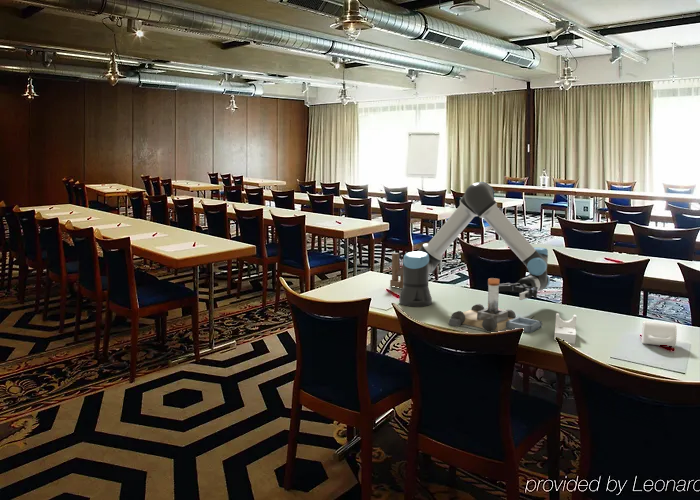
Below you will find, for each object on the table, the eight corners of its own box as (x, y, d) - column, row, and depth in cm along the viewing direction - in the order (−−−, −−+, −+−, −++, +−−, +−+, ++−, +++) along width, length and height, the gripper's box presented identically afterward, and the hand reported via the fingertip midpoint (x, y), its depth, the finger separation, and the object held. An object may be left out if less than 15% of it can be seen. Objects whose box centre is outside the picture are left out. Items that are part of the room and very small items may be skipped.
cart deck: (450, 322, 222) (450, 309, 221) (473, 314, 234) (473, 301, 234) (494, 332, 208) (495, 319, 207) (516, 323, 221) (517, 309, 220)
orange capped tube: (484, 318, 218) (486, 279, 216) (490, 316, 221) (491, 277, 219) (494, 321, 215) (496, 280, 213) (500, 318, 218) (501, 279, 216)
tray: (506, 327, 214) (506, 321, 214) (517, 322, 222) (518, 316, 221) (530, 333, 208) (530, 326, 207) (541, 327, 215) (541, 321, 214)
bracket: (555, 332, 210) (556, 313, 209) (575, 334, 207) (576, 314, 206) (554, 342, 198) (555, 322, 197) (575, 344, 195) (576, 324, 194)
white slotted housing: (641, 339, 199) (642, 318, 198) (672, 343, 195) (674, 321, 194) (643, 349, 189) (645, 327, 187) (677, 353, 185) (679, 331, 183)
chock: (448, 324, 219) (448, 318, 219) (452, 323, 221) (452, 317, 220) (457, 326, 216) (457, 320, 216) (460, 325, 218) (460, 319, 218)
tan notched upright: (404, 290, 280) (405, 255, 277) (389, 286, 288) (390, 253, 285) (409, 289, 283) (410, 254, 280) (394, 285, 291) (395, 252, 288)
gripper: (555, 298, 231) (533, 308, 216) (501, 289, 248) (477, 298, 232) (556, 281, 230) (534, 289, 214) (502, 273, 247) (478, 281, 231)
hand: (504, 294), depth 223 cm, fingers open, 13 cm apart
